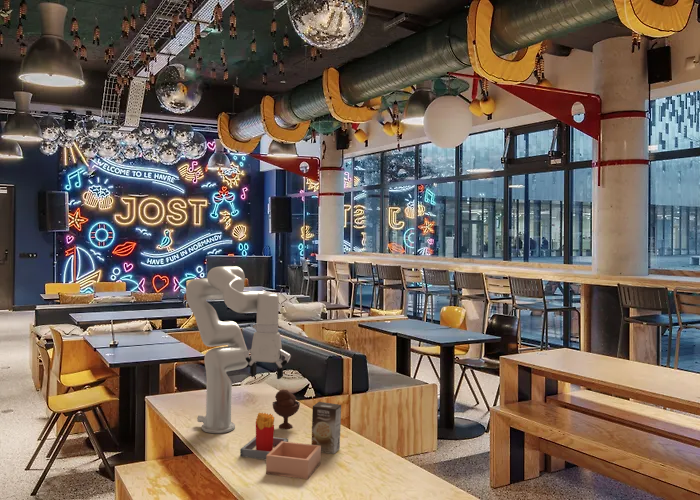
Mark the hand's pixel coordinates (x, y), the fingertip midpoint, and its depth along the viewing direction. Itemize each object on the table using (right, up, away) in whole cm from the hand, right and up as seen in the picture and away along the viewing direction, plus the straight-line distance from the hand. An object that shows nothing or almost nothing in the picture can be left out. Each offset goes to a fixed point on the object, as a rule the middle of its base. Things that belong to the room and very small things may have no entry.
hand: (266, 377), depth 220 cm
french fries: (-1, -26, +1) cm, 26 cm away
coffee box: (+21, -27, +4) cm, 34 cm away
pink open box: (+11, -27, -14) cm, 32 cm away
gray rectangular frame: (-1, -26, +1) cm, 26 cm away
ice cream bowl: (+4, -26, +28) cm, 38 cm away
